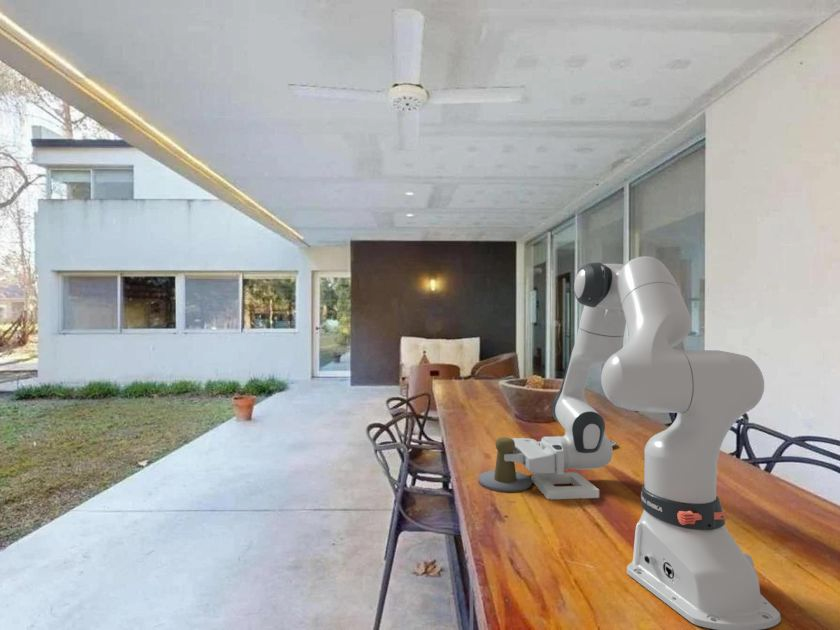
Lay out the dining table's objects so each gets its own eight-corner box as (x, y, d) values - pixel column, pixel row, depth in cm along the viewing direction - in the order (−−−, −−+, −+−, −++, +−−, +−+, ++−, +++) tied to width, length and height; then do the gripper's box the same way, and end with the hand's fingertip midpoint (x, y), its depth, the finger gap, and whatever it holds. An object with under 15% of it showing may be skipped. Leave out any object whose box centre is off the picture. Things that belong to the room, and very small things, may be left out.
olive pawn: (515, 484, 122) (515, 442, 122) (492, 481, 124) (492, 440, 124) (517, 476, 127) (517, 436, 127) (495, 474, 129) (495, 434, 129)
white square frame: (599, 497, 115) (599, 489, 115) (547, 499, 114) (547, 491, 114) (577, 479, 128) (577, 472, 128) (531, 480, 127) (531, 473, 127)
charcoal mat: (538, 491, 119) (538, 487, 119) (484, 492, 118) (484, 488, 118) (522, 472, 133) (522, 469, 133) (474, 474, 132) (474, 470, 132)
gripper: (538, 432, 137) (492, 433, 136) (565, 452, 117) (511, 453, 116) (538, 453, 137) (492, 454, 136) (565, 477, 117) (511, 479, 116)
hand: (501, 454), depth 126 cm, fingers closed on olive pawn, 3 cm apart
